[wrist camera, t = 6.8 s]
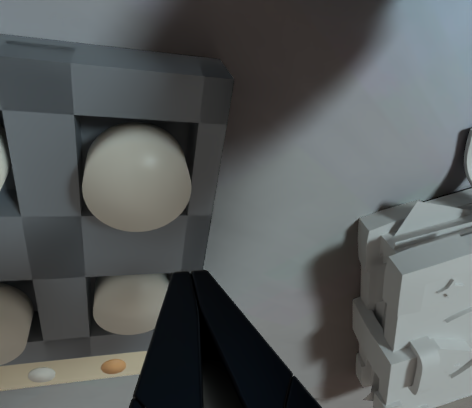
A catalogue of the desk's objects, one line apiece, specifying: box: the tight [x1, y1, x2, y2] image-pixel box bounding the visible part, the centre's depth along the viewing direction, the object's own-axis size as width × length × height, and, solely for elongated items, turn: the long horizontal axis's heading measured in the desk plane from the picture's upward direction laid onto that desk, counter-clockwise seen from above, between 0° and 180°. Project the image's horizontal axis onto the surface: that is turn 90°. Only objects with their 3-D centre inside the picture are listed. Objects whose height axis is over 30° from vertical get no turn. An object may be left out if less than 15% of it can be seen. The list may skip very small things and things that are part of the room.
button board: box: [0, 34, 234, 366], centre depth 20 cm, size 15×18×3 cm
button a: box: [82, 122, 192, 232], centre depth 17 cm, size 4×4×2 cm
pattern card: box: [0, 351, 147, 391], centre depth 28 cm, size 12×6×1 cm, turn 80°
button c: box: [93, 273, 170, 335], centre depth 23 cm, size 4×4×2 cm
